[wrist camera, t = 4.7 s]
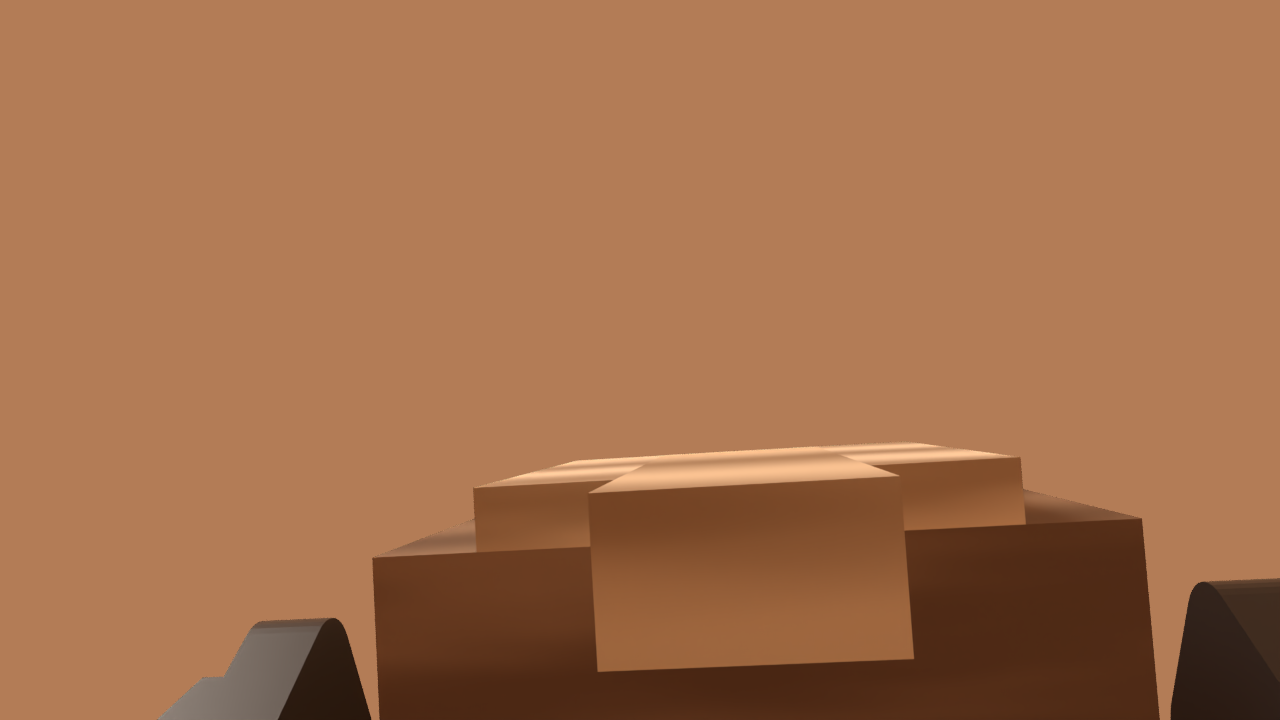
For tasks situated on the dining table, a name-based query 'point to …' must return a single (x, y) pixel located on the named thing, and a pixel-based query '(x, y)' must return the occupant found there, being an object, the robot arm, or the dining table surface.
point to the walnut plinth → (786, 693)
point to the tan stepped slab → (751, 545)
